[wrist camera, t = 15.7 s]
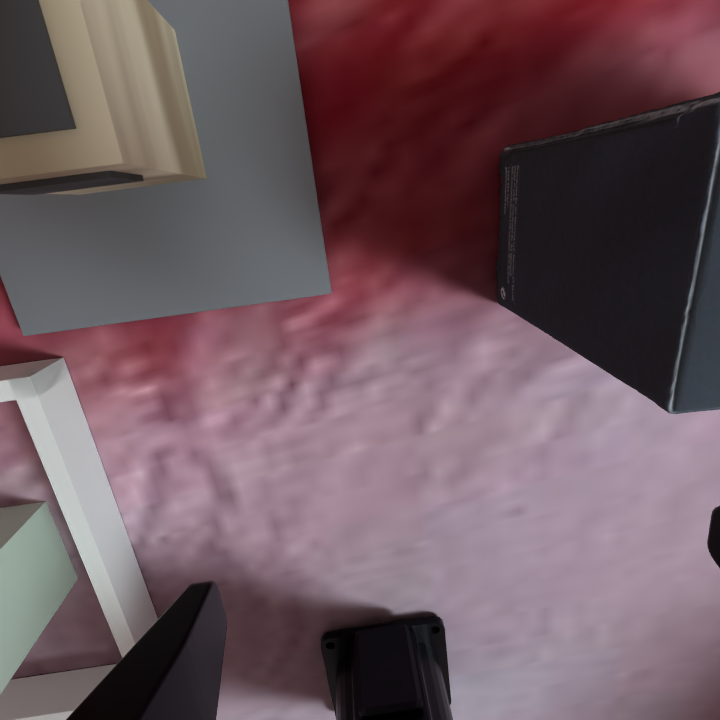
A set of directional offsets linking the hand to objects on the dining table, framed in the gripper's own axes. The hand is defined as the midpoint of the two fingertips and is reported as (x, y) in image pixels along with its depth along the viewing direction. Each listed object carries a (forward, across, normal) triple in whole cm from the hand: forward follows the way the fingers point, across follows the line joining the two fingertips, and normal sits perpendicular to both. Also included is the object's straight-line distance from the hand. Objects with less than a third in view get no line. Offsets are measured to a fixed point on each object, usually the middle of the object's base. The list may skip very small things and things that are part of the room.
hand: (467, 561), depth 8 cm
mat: (+12, +8, -10) cm, 18 cm away
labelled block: (+11, +8, -10) cm, 17 cm away
